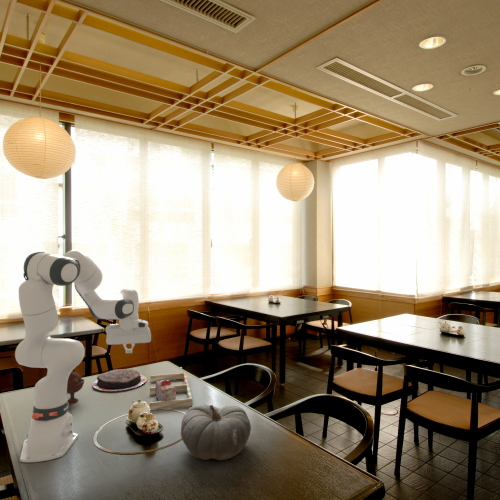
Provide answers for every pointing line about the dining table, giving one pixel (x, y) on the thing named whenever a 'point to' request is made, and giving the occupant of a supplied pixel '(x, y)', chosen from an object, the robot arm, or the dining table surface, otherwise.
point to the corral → (179, 388)
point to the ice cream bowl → (74, 386)
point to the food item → (165, 391)
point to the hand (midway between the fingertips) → (128, 352)
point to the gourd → (215, 431)
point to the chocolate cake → (119, 380)
